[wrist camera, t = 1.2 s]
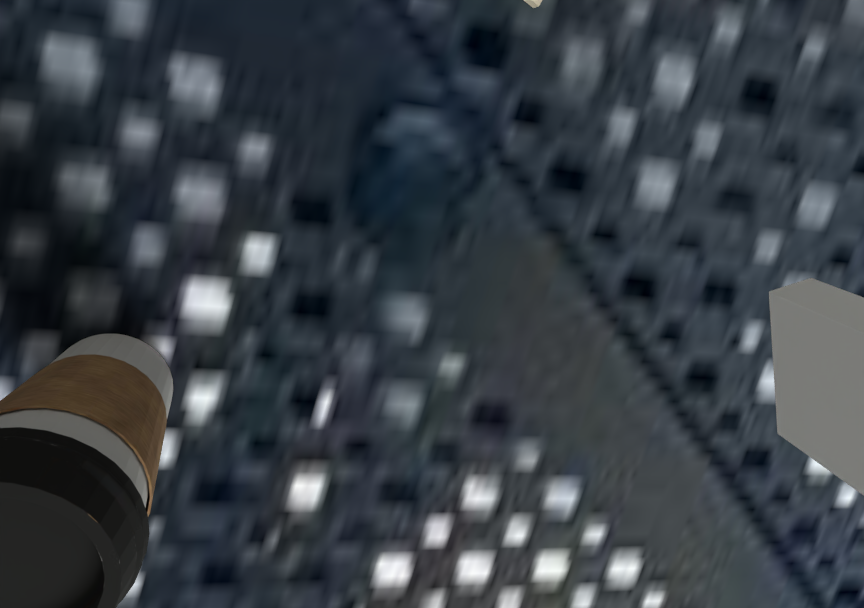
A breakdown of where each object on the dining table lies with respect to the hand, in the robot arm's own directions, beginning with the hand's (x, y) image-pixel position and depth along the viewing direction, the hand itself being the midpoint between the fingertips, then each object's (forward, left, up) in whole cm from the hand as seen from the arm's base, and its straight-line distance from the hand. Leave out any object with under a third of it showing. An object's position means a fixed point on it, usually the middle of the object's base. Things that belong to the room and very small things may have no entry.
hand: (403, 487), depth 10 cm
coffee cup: (-5, -14, -26) cm, 30 cm away
